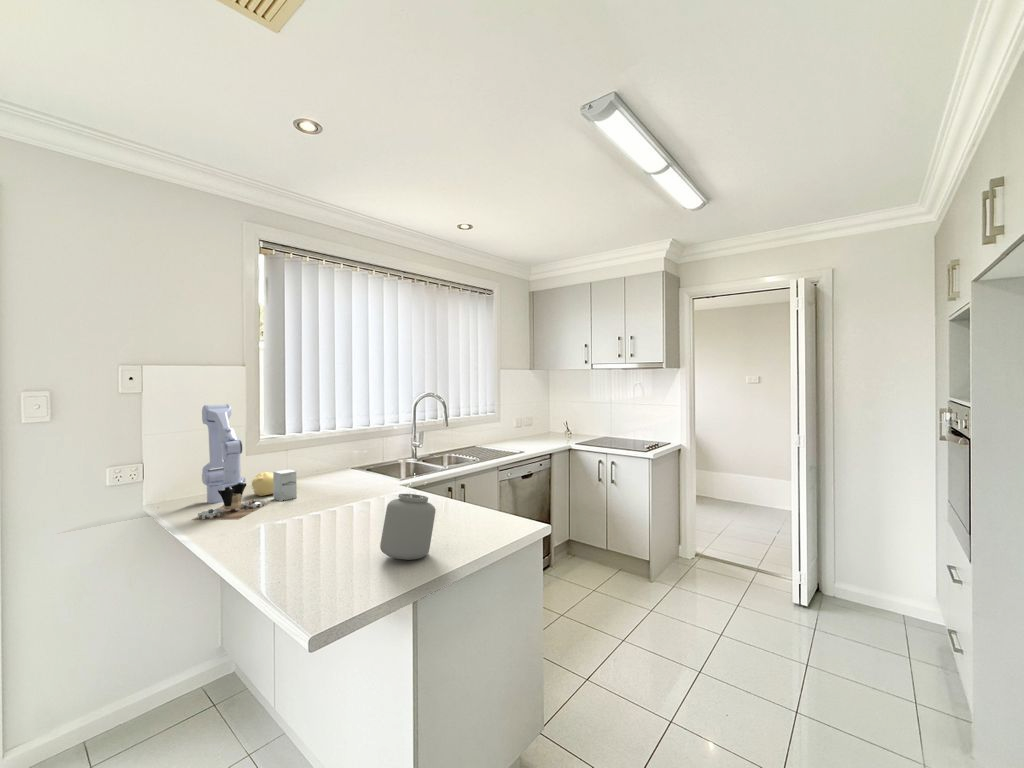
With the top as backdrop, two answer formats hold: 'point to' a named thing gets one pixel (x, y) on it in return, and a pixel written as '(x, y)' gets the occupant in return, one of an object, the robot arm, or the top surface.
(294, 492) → the supplement box
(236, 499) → the octagonal wooden tube
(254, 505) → the gear
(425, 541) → the jar
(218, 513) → the gear
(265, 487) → the sculpture
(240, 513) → the gear board
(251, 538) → the top surface
